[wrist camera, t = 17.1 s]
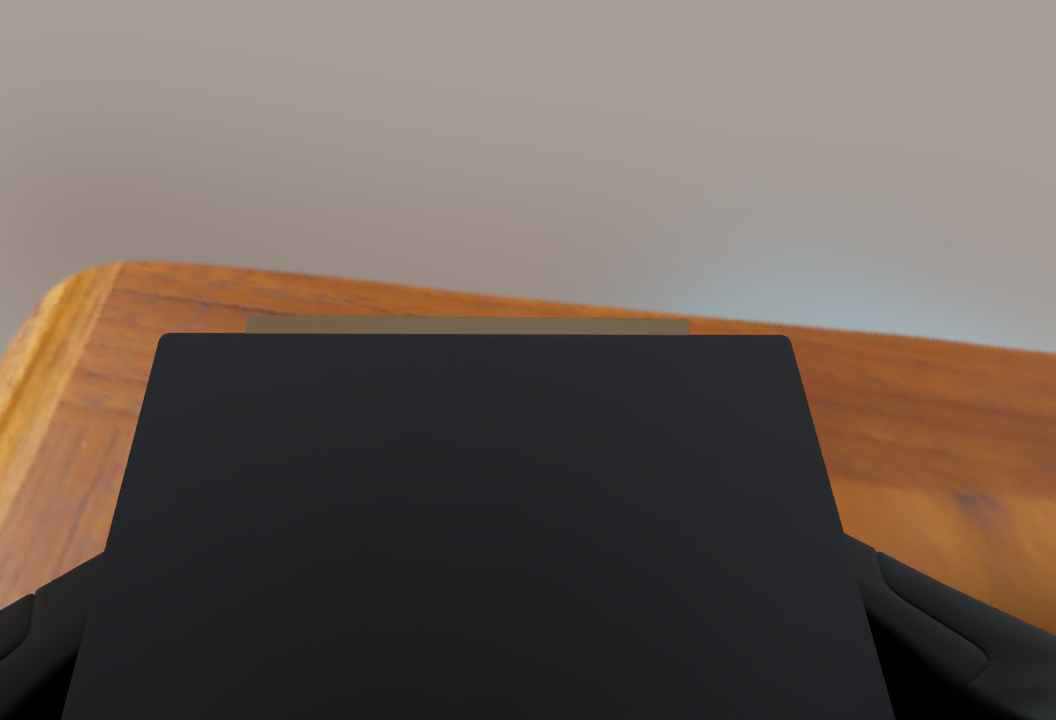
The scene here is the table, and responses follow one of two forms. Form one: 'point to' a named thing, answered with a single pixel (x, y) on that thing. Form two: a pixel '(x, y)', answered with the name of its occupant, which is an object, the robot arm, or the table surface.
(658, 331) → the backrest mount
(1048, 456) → the table surface
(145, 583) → the black rectangular block
